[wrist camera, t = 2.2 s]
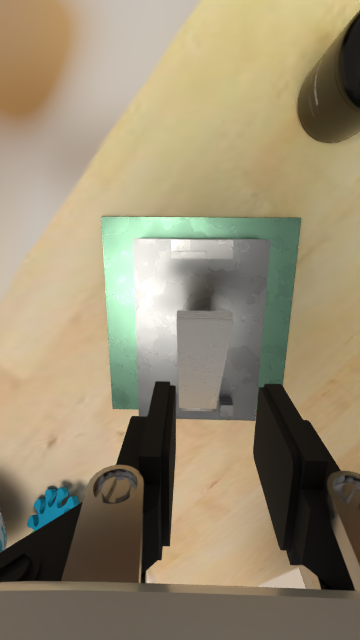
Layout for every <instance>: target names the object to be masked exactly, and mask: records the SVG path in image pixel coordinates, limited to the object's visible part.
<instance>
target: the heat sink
mask: <svg viewBox="0 0 360 640" xmlns="http://www.w3.org/2000/svg"><path fill="white" fill-rule="evenodd" d="M101 224H102V240H103V257H104V273H105V290H106V306H107V323H108V339H109V356H110V372H111V389H112V405H113V409H139V416H148V412H149V407H150V403H151V399H152V394H153V390H154V386H155V382H156V381H167V382H170V385H173V386H176V419H209V420H252V421H255V418H256V412H257V402H258V391H259V388H260V387H264V384H281V385H282V386H283V378H284V369H285V360H286V351H287V342H288V333H289V324H290V315H291V306H292V296H293V287H294V278H295V269H296V260H297V251H298V242H299V233H300V224H301V218H211V217H101ZM177 310H185V311H233V319H234V322H233V327H232V332H231V337H230V342H229V347H228V352H227V357H226V362H225V367H224V372H223V377H222V382H221V387H220V392H219V397H218V402H217V407H216V411H179V386H178V355H177V324H176V317H177Z"/></svg>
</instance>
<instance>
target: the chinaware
mask: <svg viewBox="0 0 360 640" xmlns="http://www.w3.org/2000/svg"><path fill="white" fill-rule="evenodd" d="M0 510H1V507H0ZM6 539H7V536H6V526H5V522H4V519H3V516H2V514H1V512H0V552H2V551H3V550H5V549H6Z"/></svg>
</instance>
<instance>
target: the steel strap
mask: <svg viewBox="0 0 360 640" xmlns="http://www.w3.org/2000/svg"><path fill="white" fill-rule="evenodd" d="M233 322H234V319H233V311H185V310H177V317H176V324H177V355H178V386H179V411H216V407H217V402H218V397H219V392H220V387H221V382H222V377H223V372H224V367H225V362H226V357H227V352H228V347H229V342H230V337H231V332H232V327H233Z"/></svg>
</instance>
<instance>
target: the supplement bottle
mask: <svg viewBox="0 0 360 640" xmlns="http://www.w3.org/2000/svg"><path fill="white" fill-rule="evenodd" d="M298 111H299V117H300V120H301V123H302V125H303V127H304V129H305V130H306V131H307V132H308V134H309V135H311V136H312V137H313V138H315V139H317V140H319V141H322V142H329V143H332V142H339V141H342V140H345V139H347V138H349V137H351V136H353V135H355V134H357V133H359V132H360V10H359V12H358V13H357V14H356V15H355V16H354V17H353V18H352V20H351V21H350V22H349V23H348V25H347V26H346V27H345V28H344V30H343V31H342V32H341V33H340V35H339V36H338V37H337V39H336V40H335V41H334V42H333V44H332V45H331V46H330V47H329V49H328V50H327V51H326V53H325V54H324V55H323V56H322V58H321V59H320V60H319V61H318V63H317V64H316V65H315V67H314V68H313V69H312V71H311V72H310V73H309V75H308V76H307V78H306V80H305V81H304V84H303V86H302V88H301V91H300V95H299V102H298Z"/></svg>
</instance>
